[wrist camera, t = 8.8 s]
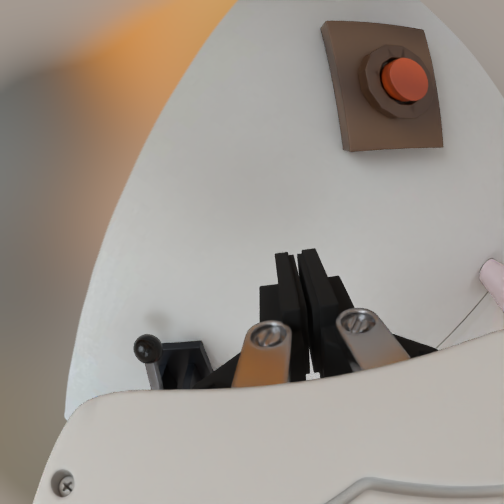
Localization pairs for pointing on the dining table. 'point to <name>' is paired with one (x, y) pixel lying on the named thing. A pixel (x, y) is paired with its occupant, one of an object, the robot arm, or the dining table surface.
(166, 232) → the dining table surface
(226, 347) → the dining table surface
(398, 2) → the dining table surface
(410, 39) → the button block
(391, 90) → the button
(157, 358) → the lever
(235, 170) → the dining table surface
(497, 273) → the smoothie
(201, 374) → the bracket
